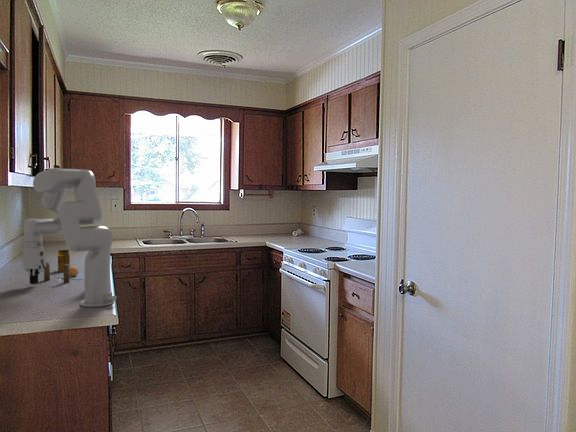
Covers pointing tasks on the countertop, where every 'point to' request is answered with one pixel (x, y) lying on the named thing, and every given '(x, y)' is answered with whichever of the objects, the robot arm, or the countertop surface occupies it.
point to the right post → (66, 273)
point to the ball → (73, 271)
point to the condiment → (63, 259)
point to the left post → (47, 272)
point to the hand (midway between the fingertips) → (34, 283)
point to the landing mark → (76, 277)
